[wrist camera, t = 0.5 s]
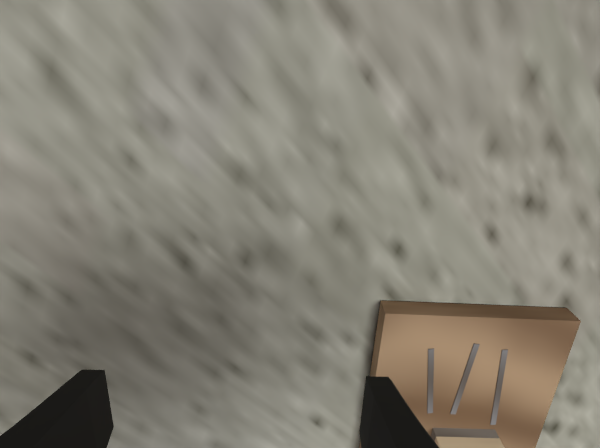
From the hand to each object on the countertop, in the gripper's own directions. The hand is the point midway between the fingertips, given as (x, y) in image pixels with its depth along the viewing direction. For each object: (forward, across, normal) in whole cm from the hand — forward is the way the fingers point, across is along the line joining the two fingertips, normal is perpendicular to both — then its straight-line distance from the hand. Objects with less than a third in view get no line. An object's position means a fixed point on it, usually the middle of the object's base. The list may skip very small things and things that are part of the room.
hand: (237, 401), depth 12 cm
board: (+10, -11, +10) cm, 18 cm away
